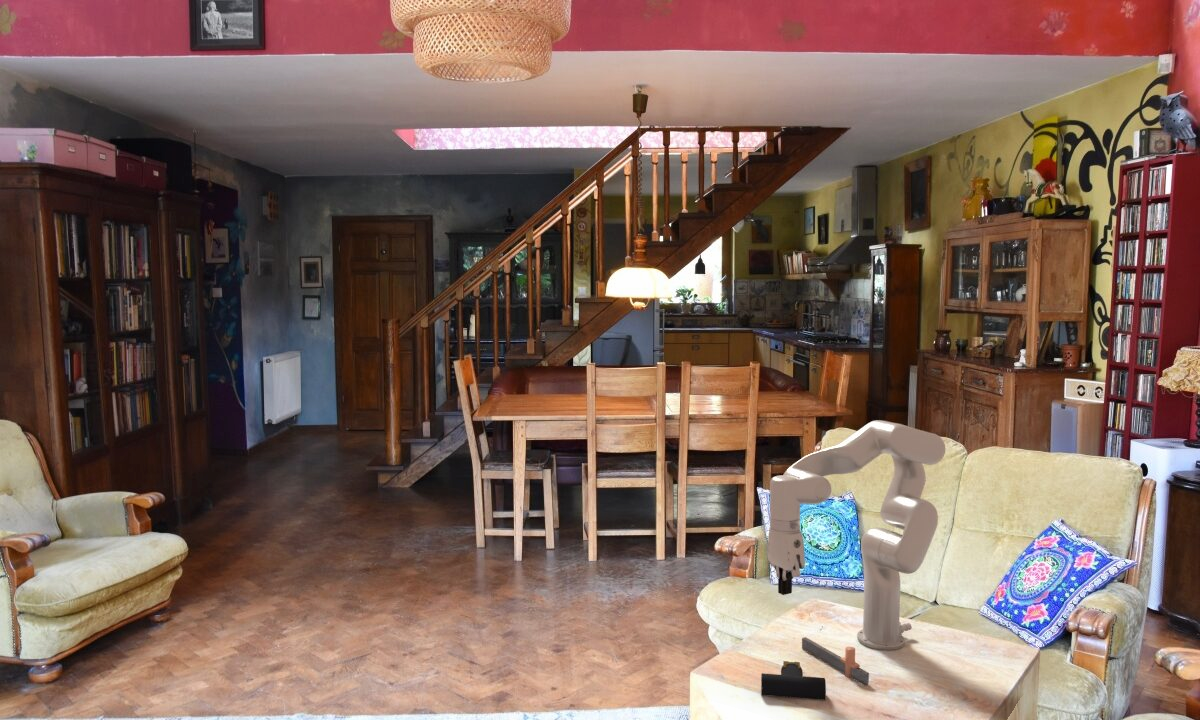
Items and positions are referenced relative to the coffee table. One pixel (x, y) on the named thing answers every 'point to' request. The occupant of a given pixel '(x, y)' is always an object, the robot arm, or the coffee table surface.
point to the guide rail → (838, 660)
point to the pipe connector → (793, 683)
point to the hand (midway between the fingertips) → (785, 593)
